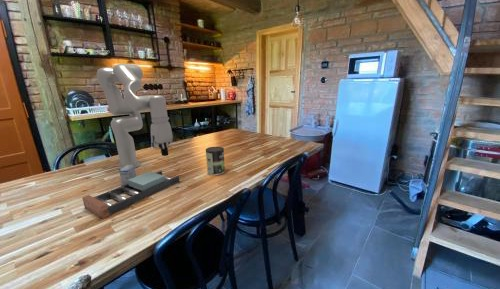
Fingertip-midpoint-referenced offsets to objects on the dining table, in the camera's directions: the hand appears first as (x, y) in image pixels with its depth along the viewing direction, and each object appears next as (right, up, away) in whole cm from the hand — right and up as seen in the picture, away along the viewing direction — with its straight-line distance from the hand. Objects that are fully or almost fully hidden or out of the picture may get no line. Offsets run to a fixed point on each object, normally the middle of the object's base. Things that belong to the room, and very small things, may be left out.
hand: (165, 155), depth 115 cm
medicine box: (-19, -15, +2) cm, 25 cm away
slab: (-6, -14, -6) cm, 16 cm away
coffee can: (+25, -11, +14) cm, 30 cm away
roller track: (-9, -18, -10) cm, 22 cm away
